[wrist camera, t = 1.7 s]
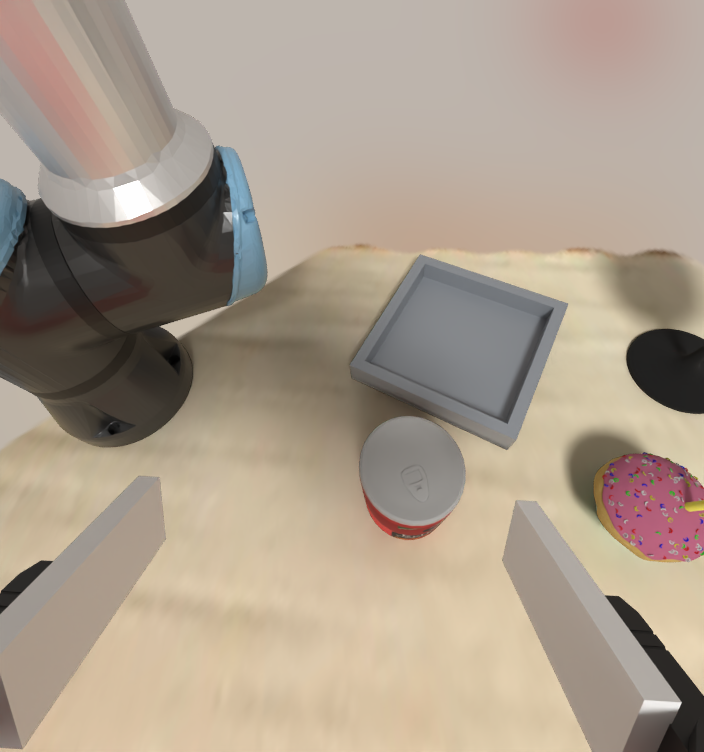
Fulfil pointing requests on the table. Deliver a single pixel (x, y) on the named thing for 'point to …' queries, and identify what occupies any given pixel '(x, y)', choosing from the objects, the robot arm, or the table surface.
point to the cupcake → (651, 507)
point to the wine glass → (669, 368)
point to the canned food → (410, 476)
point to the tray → (461, 348)
